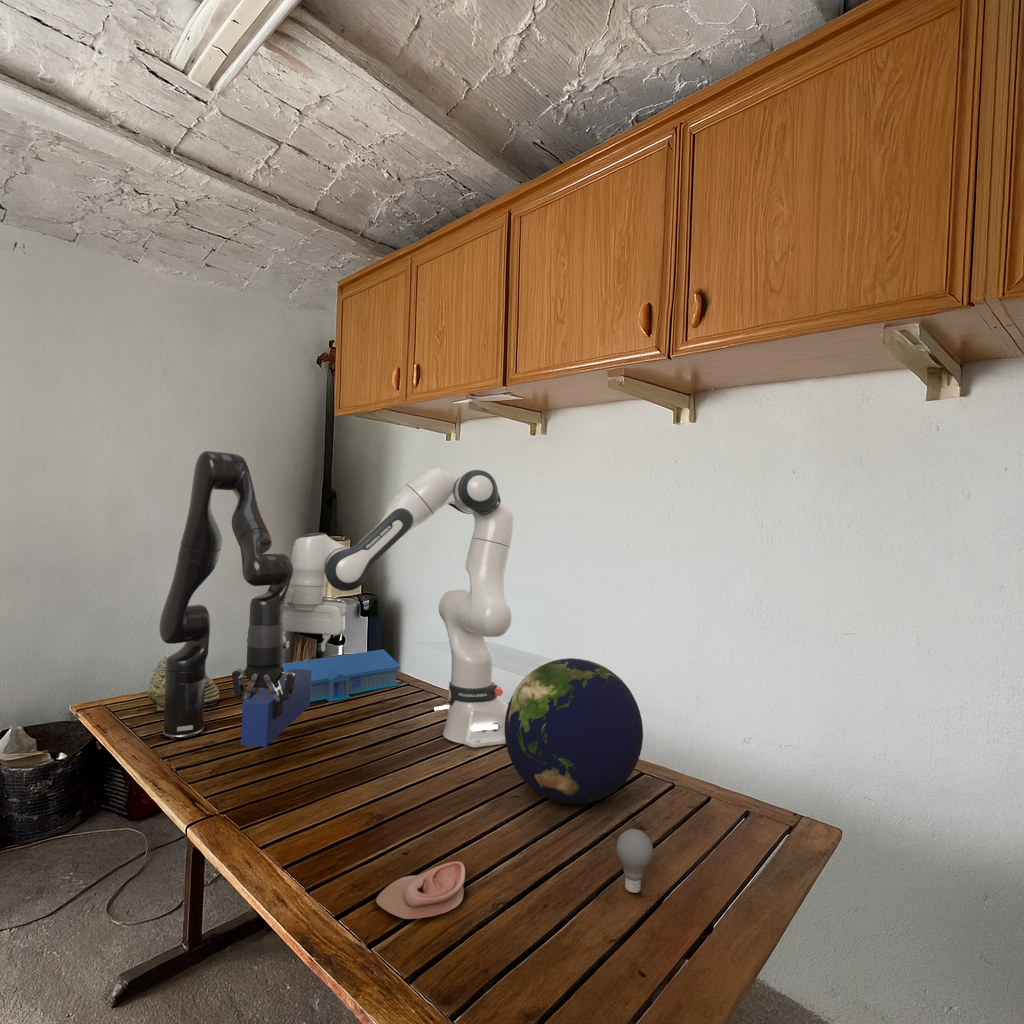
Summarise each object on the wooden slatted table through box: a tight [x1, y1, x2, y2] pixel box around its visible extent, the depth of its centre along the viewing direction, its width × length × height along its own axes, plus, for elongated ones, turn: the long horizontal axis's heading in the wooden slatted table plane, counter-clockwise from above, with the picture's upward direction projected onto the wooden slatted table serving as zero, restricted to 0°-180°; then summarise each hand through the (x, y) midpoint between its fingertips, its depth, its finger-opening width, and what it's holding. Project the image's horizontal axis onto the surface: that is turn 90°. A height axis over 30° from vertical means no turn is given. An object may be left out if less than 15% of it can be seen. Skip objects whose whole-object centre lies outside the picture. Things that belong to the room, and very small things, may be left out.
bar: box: [240, 669, 312, 748], centre depth 152 cm, size 28×6×10 cm, turn 179°
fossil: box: [147, 654, 221, 712], centre depth 185 cm, size 9×18×15 cm, turn 132°
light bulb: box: [615, 828, 654, 894], centre depth 106 cm, size 6×6×10 cm
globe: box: [504, 657, 644, 805], centre depth 138 cm, size 30×30×30 cm
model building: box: [258, 649, 401, 703], centre depth 208 cm, size 39×24×10 cm, turn 132°
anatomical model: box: [375, 860, 466, 920], centre depth 101 cm, size 13×4×12 cm
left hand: (262, 716), depth 143 cm, fingers closed on bar, 5 cm apart
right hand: (303, 649), depth 162 cm, fingers open, 8 cm apart
